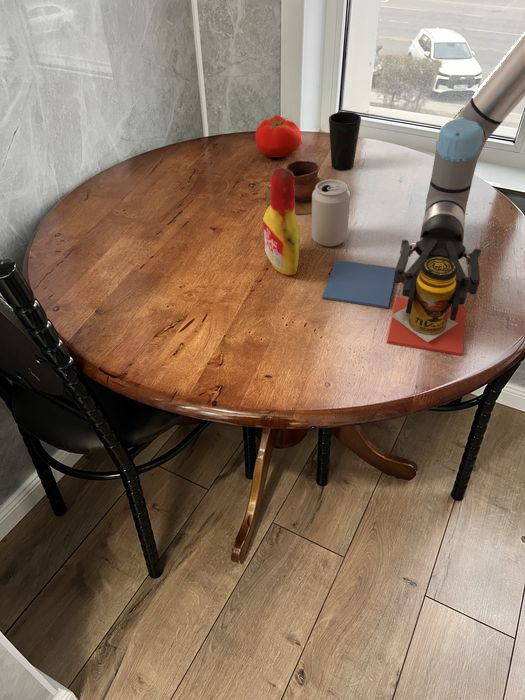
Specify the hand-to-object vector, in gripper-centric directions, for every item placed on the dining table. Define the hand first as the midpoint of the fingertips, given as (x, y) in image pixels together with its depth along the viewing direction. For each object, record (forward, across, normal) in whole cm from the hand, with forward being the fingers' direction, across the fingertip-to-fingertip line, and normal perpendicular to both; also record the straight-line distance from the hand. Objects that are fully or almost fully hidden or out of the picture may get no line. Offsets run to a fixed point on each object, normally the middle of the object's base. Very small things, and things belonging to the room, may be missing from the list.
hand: (431, 310), depth 84 cm
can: (-28, +22, -8) cm, 37 cm away
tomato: (-66, +44, -8) cm, 80 cm away
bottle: (-17, +29, -8) cm, 35 cm away
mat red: (-5, 0, -8) cm, 9 cm away
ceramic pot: (-45, +32, -8) cm, 56 cm away
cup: (-62, +26, -8) cm, 68 cm away
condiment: (-5, +1, -7) cm, 8 cm away
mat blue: (-14, +13, -8) cm, 21 cm away
